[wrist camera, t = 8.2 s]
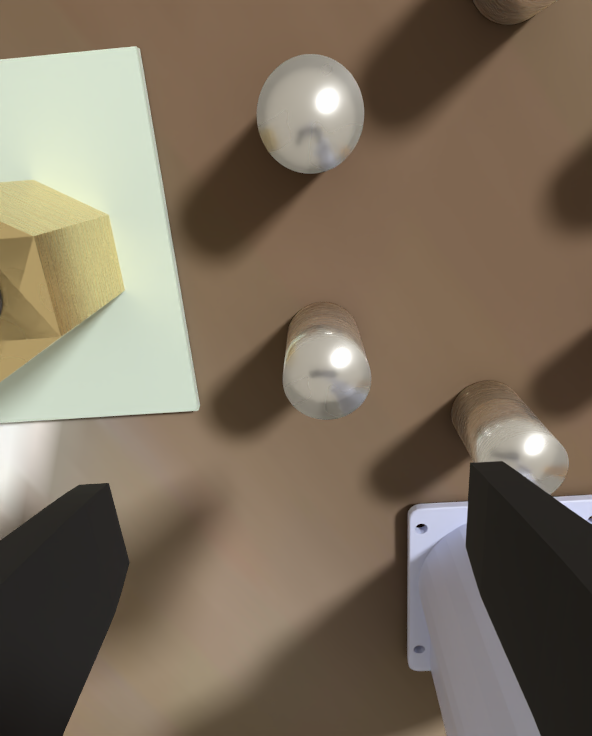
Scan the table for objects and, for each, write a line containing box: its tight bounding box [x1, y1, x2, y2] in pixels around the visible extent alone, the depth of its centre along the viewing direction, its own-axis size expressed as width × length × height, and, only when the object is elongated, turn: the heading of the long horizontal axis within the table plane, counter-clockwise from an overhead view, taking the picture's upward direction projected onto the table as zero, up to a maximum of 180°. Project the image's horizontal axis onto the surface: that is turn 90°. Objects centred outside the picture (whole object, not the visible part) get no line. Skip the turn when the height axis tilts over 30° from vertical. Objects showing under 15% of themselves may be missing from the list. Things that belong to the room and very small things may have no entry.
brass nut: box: [0, 180, 125, 382], centre depth 15 cm, size 5×4×5 cm
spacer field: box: [257, 0, 569, 495], centre depth 15 cm, size 17×15×4 cm
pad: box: [0, 46, 200, 423], centre depth 18 cm, size 12×8×1 cm, turn 5°
